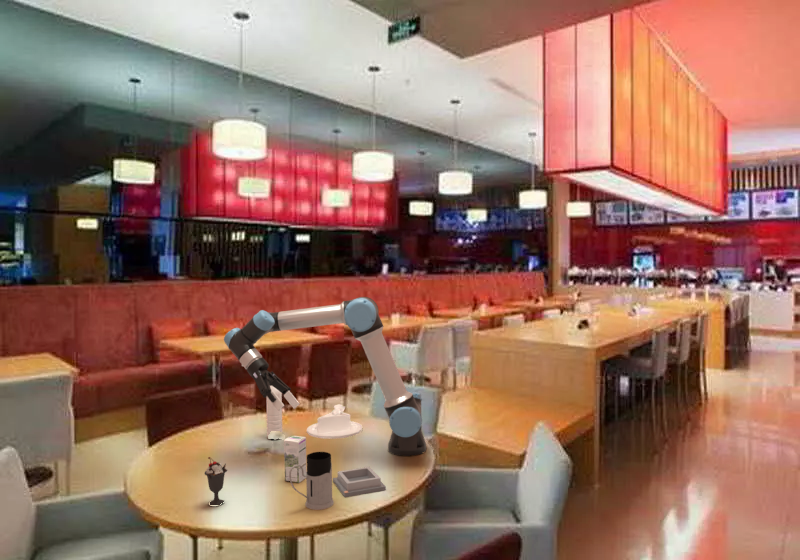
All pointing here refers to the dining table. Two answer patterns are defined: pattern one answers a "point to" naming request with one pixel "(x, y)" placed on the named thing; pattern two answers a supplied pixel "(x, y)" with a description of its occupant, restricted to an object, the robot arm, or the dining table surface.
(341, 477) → the box holder
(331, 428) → the dish
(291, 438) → the syrup box
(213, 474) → the sundae
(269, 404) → the water bottle
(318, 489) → the glass holder
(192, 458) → the dining table surface
